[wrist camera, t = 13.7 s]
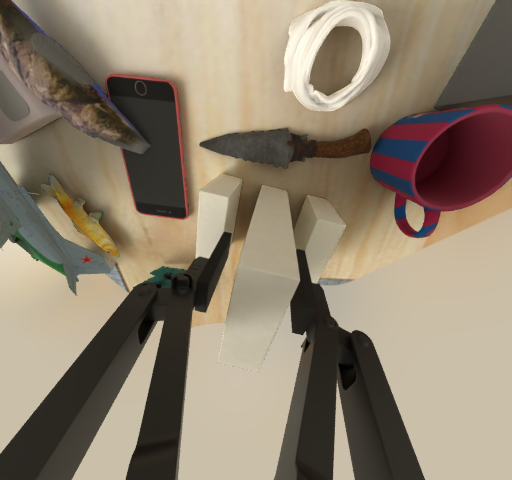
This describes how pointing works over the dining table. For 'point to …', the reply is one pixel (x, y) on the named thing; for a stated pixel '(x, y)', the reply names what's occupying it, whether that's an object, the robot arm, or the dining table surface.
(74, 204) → the fish
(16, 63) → the decorative rock
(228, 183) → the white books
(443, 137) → the cup
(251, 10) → the dining table surface
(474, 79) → the pair of grey blocks
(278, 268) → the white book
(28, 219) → the airplane
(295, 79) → the white cloth wrap
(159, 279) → the figurine
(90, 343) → the robot arm
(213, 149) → the knife
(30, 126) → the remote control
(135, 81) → the smartphone
